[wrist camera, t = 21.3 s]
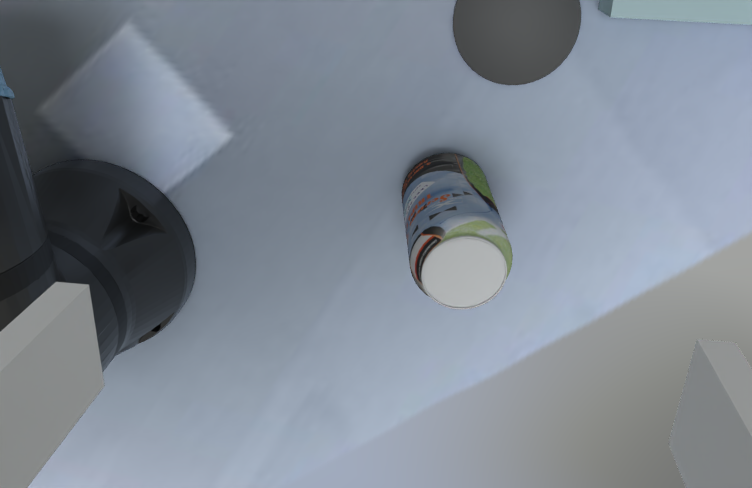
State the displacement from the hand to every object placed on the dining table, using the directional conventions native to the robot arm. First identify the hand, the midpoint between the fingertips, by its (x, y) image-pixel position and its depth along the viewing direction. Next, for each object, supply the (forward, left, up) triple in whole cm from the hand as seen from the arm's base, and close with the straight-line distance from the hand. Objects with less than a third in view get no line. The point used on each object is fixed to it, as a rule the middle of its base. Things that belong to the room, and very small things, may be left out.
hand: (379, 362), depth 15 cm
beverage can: (+2, -9, -35) cm, 36 cm away
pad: (+5, +3, -35) cm, 35 cm away
